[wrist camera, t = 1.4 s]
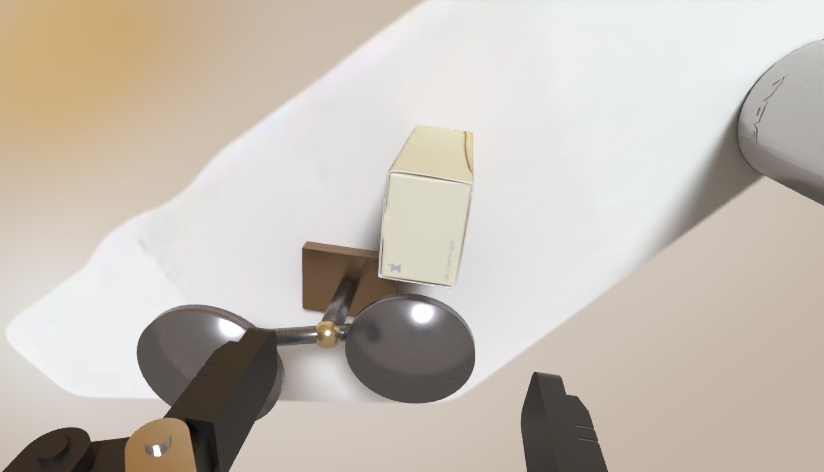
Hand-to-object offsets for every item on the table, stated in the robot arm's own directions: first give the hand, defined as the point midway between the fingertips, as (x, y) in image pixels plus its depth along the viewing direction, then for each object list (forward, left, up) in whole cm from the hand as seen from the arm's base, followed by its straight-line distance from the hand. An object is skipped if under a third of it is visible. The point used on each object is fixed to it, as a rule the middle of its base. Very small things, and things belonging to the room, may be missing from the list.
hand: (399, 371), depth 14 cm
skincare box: (0, 0, -22) cm, 22 cm away
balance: (+6, +11, -22) cm, 25 cm away
